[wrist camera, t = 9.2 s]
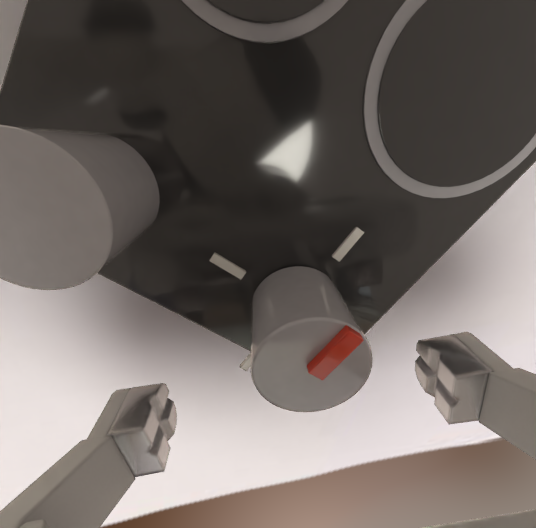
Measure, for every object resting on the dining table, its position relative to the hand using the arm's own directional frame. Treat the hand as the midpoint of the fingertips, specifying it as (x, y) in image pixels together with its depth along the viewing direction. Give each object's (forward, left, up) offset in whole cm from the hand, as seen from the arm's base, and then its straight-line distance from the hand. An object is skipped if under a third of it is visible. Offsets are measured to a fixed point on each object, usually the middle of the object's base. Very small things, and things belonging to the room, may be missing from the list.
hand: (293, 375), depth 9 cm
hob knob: (+1, 0, -3) cm, 3 cm away
